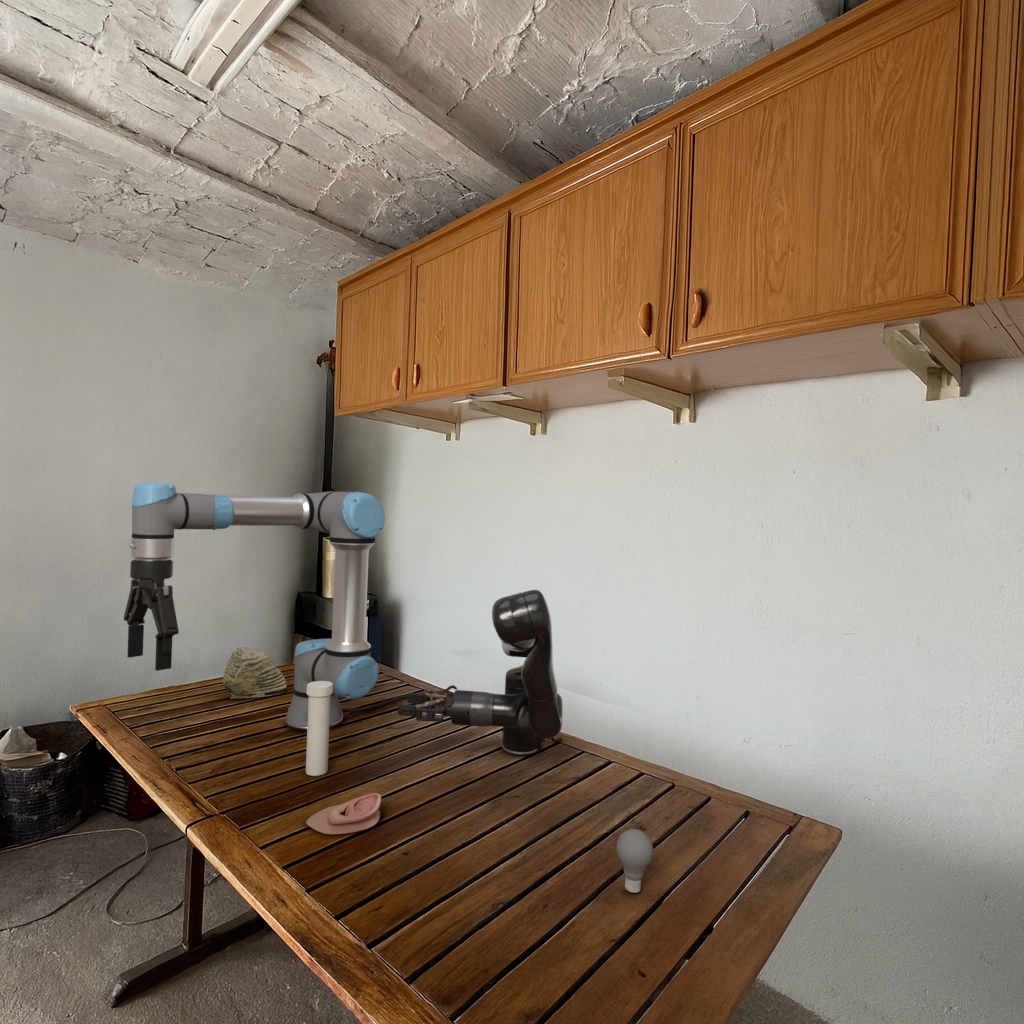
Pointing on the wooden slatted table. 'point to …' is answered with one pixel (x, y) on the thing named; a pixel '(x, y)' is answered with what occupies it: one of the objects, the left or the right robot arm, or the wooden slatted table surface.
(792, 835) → the wooden slatted table surface
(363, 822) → the anatomical model
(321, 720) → the jar
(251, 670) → the fossil
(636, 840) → the light bulb
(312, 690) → the lid
